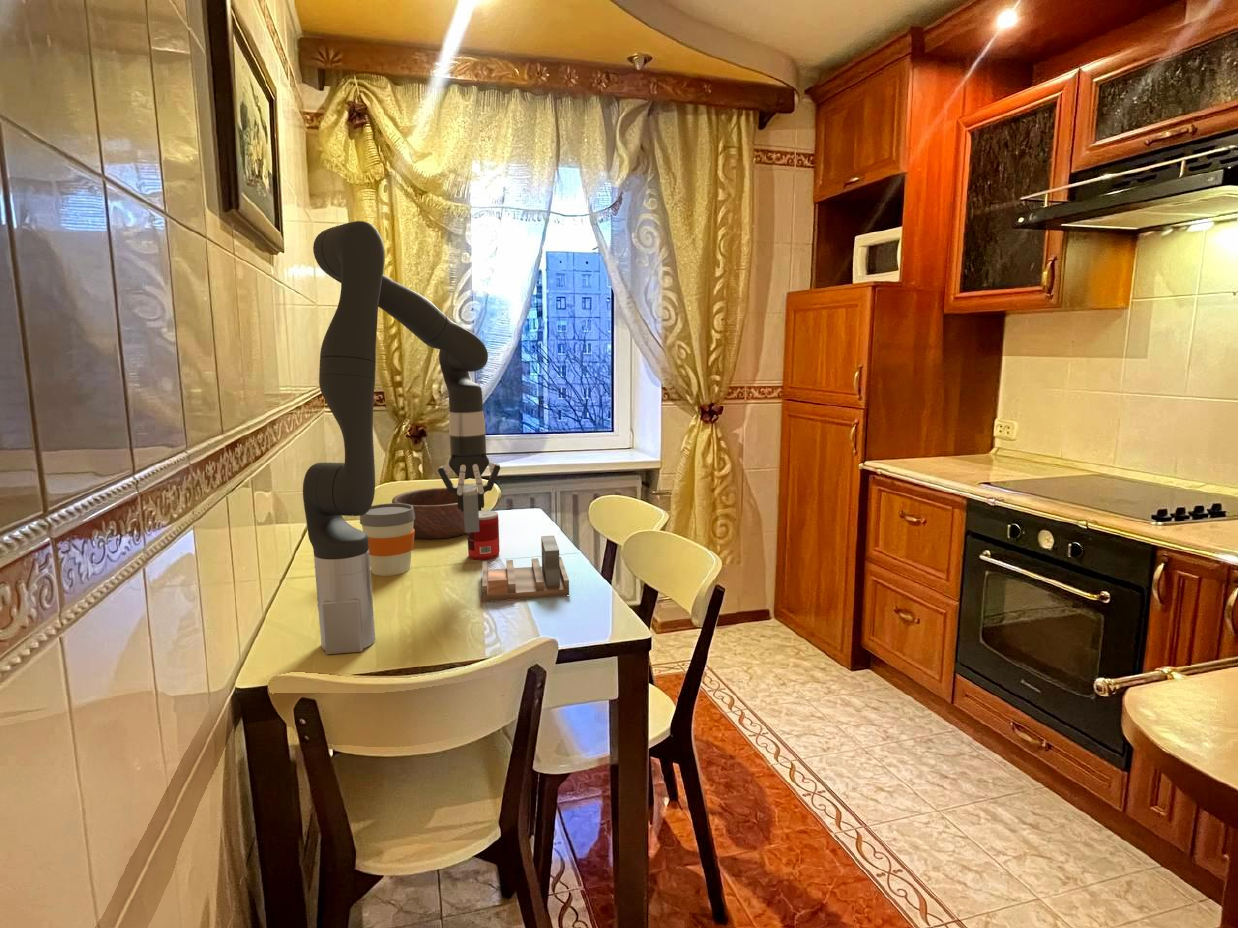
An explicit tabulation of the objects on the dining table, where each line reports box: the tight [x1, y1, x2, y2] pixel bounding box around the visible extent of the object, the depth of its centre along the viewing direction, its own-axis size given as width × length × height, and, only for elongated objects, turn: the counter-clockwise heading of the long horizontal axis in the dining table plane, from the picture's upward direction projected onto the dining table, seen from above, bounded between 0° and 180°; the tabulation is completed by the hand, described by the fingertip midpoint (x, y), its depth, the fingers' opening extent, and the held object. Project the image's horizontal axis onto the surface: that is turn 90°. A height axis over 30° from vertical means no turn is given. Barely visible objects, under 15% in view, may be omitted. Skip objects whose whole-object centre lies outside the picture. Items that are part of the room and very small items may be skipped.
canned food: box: [466, 509, 501, 561], centre depth 182 cm, size 8×8×11 cm
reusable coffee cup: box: [359, 502, 415, 577], centre depth 172 cm, size 13×13×15 cm
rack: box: [481, 535, 570, 603], centre depth 160 cm, size 17×18×10 cm
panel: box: [463, 482, 479, 534], centre depth 157 cm, size 12×3×8 cm, turn 12°
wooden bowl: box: [391, 487, 478, 540], centre depth 207 cm, size 25×25×10 cm
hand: (471, 510), depth 157 cm, fingers closed on panel, 3 cm apart
